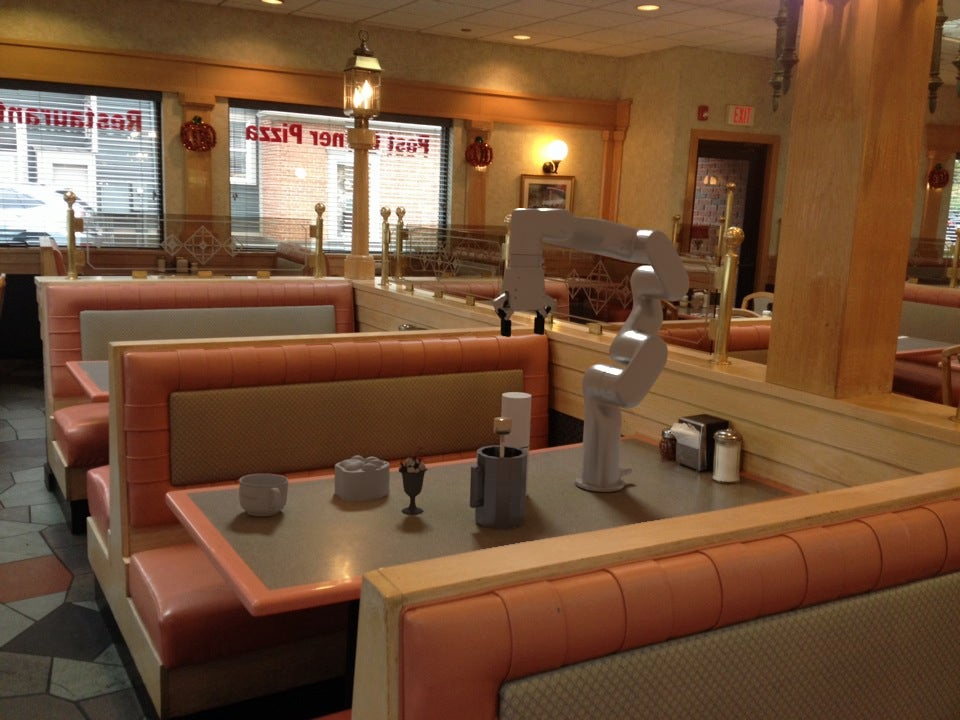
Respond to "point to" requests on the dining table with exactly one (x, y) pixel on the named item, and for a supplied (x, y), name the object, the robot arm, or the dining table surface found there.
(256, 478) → the teacup
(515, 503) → the press carafe
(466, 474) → the dining table surface
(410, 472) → the sundae
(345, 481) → the lumpy-topped squat cylinder
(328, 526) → the dining table surface
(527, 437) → the cylindrical container
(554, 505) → the dining table surface
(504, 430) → the plunger
